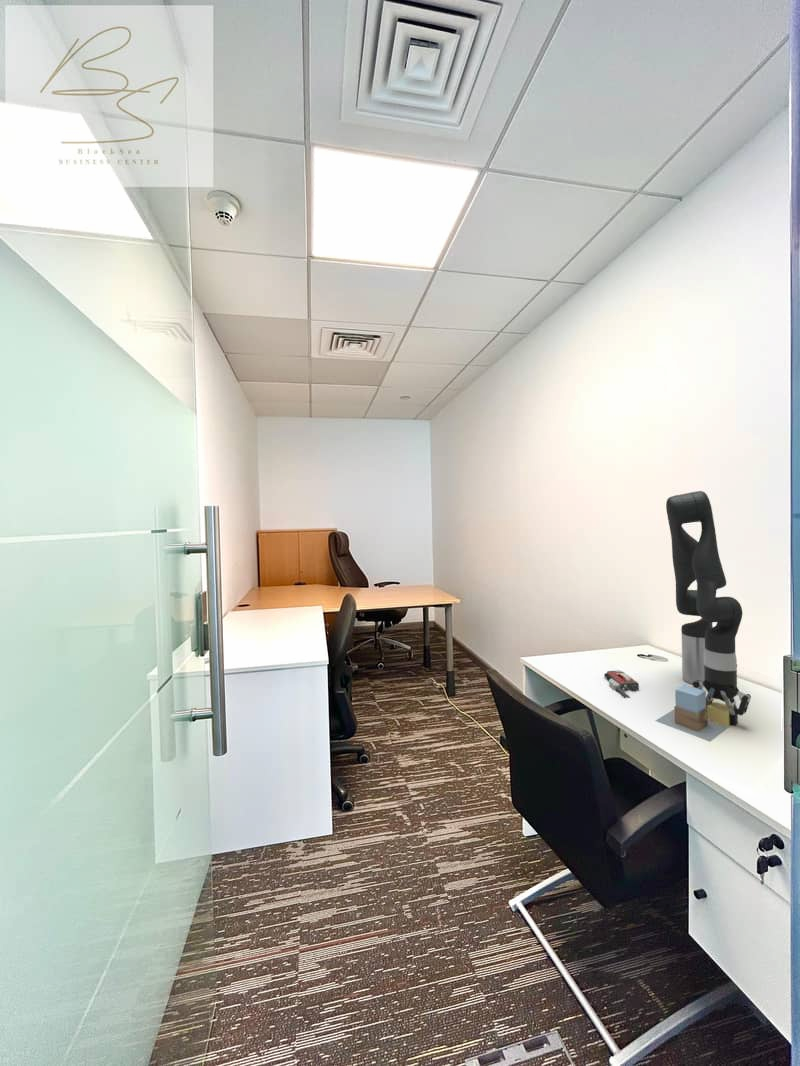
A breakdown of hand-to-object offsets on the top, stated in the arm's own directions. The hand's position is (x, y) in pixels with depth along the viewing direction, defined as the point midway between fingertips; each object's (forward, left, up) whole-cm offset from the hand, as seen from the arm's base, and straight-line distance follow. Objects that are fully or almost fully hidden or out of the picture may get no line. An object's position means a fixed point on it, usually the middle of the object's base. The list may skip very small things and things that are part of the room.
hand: (721, 721), depth 121 cm
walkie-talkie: (-2, -30, -1) cm, 30 cm away
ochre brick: (0, 0, 0) cm, 0 cm away
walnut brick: (+9, -4, +1) cm, 10 cm away
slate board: (+9, -4, 0) cm, 10 cm away
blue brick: (+9, -4, +6) cm, 11 cm away
